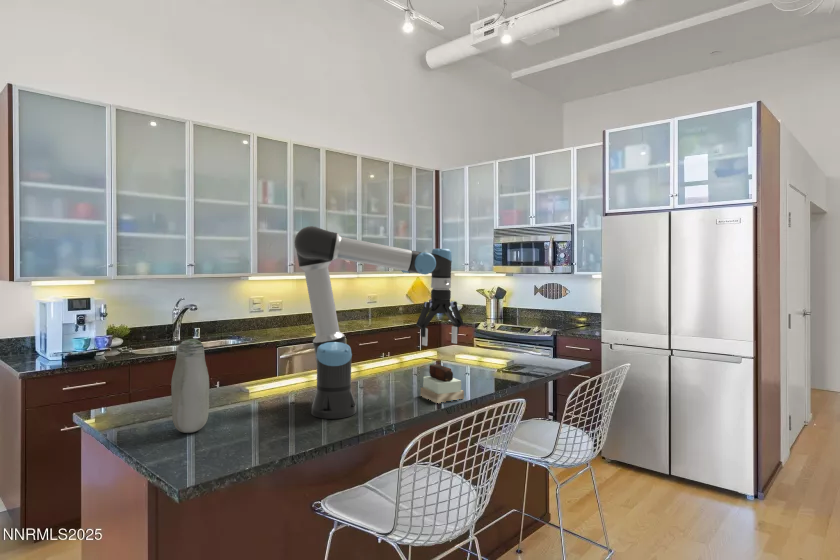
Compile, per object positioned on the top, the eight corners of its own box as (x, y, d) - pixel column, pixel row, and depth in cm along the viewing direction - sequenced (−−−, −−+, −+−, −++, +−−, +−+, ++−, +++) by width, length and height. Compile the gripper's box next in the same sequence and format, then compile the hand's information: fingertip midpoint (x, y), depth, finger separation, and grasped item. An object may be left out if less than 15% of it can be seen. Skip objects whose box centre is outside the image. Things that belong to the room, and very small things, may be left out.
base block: (437, 405, 192) (437, 394, 191) (420, 397, 202) (420, 387, 202) (463, 401, 198) (463, 390, 198) (446, 394, 208) (446, 384, 208)
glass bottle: (202, 436, 153) (201, 342, 152) (166, 436, 152) (165, 341, 151) (213, 426, 163) (213, 337, 162) (180, 426, 162) (179, 337, 161)
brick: (429, 376, 203) (429, 364, 203) (437, 375, 205) (437, 363, 205) (444, 382, 194) (444, 369, 194) (453, 380, 196) (453, 368, 196)
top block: (437, 394, 192) (438, 383, 192) (423, 387, 203) (423, 376, 203) (461, 391, 196) (461, 380, 196) (445, 384, 207) (445, 374, 207)
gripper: (418, 289, 189) (416, 347, 189) (473, 289, 202) (471, 343, 202) (407, 288, 195) (406, 344, 196) (461, 288, 208) (460, 341, 209)
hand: (439, 344), depth 199 cm, fingers open, 13 cm apart
